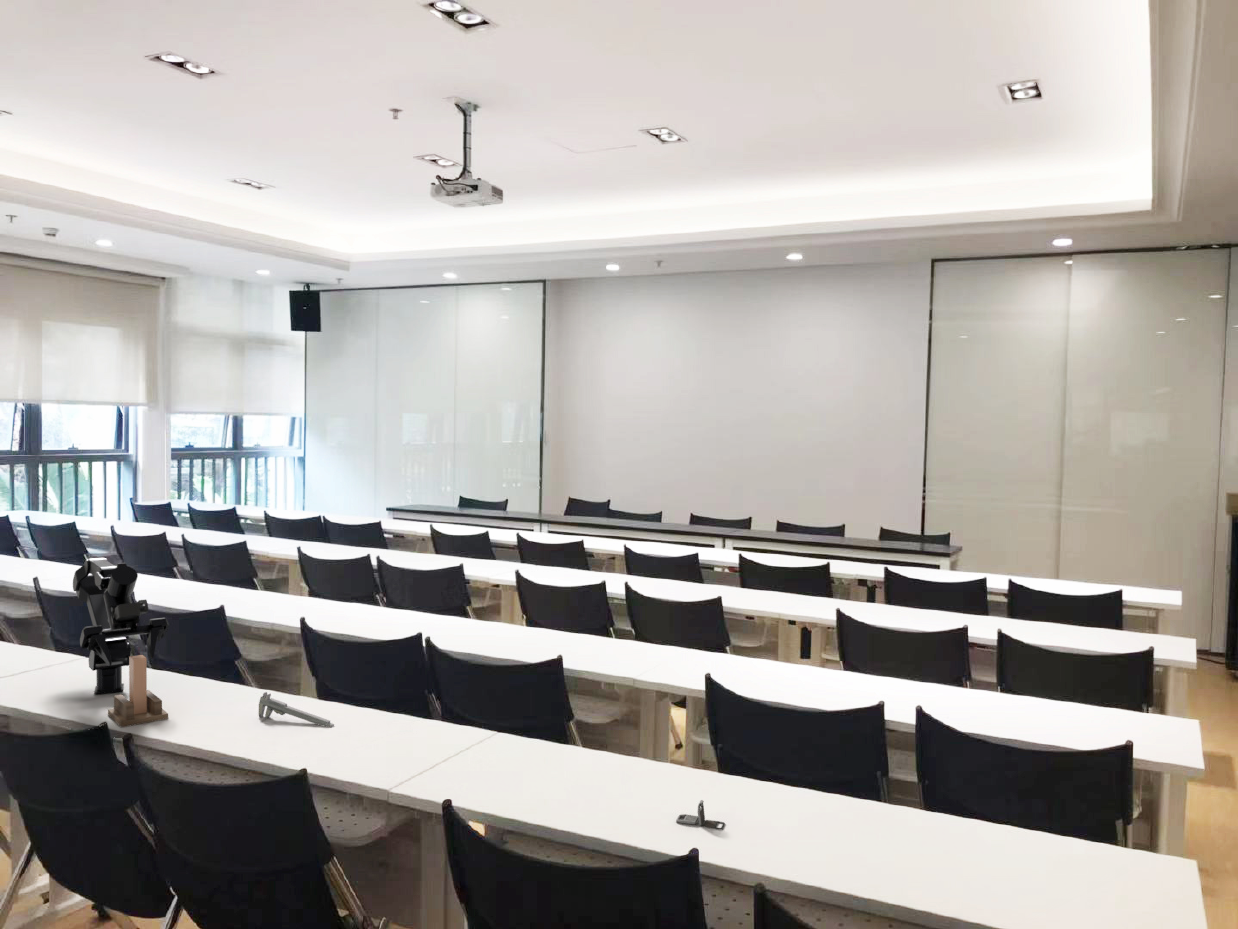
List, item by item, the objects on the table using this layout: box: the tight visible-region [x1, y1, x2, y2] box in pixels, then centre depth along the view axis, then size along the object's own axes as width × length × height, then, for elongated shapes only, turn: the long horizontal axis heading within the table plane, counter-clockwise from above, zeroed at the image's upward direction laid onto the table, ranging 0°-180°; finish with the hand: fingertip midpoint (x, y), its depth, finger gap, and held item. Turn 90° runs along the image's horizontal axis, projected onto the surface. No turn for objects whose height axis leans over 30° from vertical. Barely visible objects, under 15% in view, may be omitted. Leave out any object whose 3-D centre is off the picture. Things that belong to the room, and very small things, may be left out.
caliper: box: [258, 691, 335, 728], centre depth 216 cm, size 20×1×6 cm, turn 73°
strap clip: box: [675, 799, 726, 831], centre depth 165 cm, size 8×3×4 cm, turn 73°
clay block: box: [128, 654, 148, 714], centre depth 218 cm, size 4×3×13 cm
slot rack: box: [107, 689, 169, 728], centre depth 218 cm, size 12×10×4 cm
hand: (131, 662), depth 221 cm, fingers open, 9 cm apart
